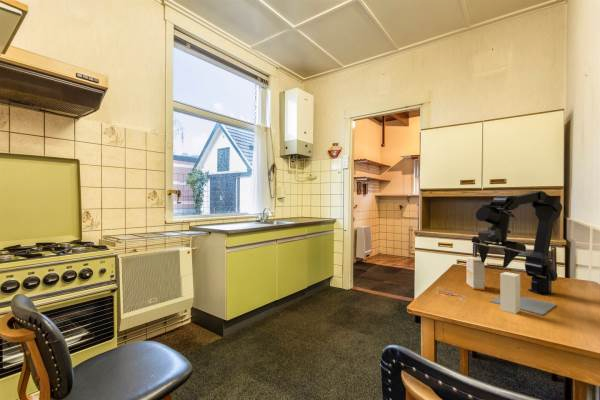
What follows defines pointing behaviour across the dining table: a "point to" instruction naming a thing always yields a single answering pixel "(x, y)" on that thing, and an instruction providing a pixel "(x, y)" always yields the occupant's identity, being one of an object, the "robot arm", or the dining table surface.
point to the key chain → (452, 295)
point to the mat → (531, 305)
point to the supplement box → (475, 273)
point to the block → (510, 292)
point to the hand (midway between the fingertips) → (493, 264)
